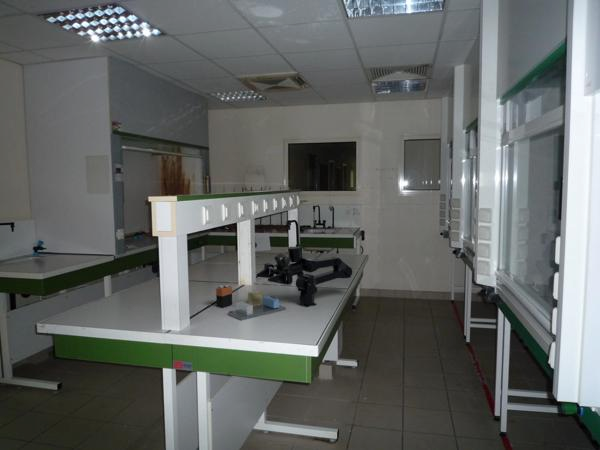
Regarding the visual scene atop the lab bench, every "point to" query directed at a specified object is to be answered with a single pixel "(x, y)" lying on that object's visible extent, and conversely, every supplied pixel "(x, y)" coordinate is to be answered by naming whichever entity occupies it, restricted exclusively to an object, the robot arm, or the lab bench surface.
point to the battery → (224, 296)
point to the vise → (252, 310)
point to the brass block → (255, 297)
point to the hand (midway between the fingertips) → (262, 277)
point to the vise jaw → (270, 301)
